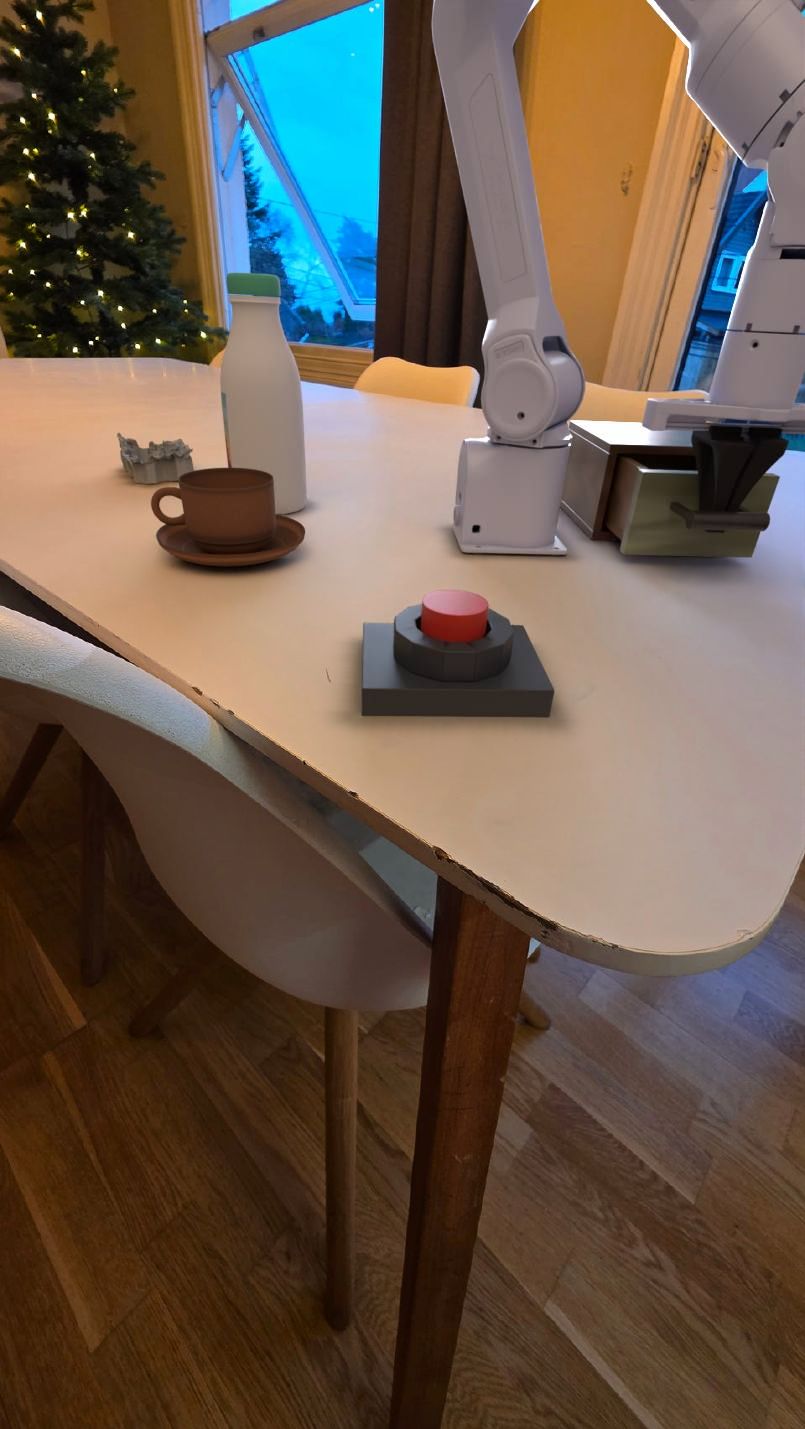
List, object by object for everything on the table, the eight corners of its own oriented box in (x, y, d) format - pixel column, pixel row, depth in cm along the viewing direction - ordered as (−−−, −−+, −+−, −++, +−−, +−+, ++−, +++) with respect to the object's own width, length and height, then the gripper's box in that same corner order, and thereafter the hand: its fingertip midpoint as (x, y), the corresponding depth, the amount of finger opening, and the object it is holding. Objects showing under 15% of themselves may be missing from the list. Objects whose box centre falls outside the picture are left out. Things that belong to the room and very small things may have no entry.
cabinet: (718, 542, 61) (748, 448, 56) (591, 539, 60) (610, 443, 55) (663, 505, 72) (684, 424, 67) (555, 502, 71) (569, 420, 67)
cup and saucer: (168, 587, 46) (153, 501, 43) (153, 538, 55) (140, 465, 52) (324, 569, 51) (321, 491, 47) (286, 527, 60) (281, 459, 56)
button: (422, 645, 33) (424, 614, 32) (418, 617, 36) (420, 588, 35) (490, 646, 33) (494, 616, 32) (480, 618, 36) (483, 589, 35)
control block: (361, 716, 33) (361, 657, 31) (363, 646, 39) (363, 594, 37) (549, 718, 33) (561, 660, 31) (519, 649, 40) (527, 597, 38)
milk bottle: (322, 505, 67) (315, 277, 56) (272, 521, 61) (254, 271, 50) (268, 493, 70) (251, 275, 59) (216, 507, 64) (187, 270, 54)
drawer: (782, 578, 50) (816, 491, 47) (645, 575, 50) (668, 487, 46) (690, 517, 65) (710, 447, 61) (582, 514, 64) (596, 443, 60)
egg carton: (120, 467, 78) (113, 432, 76) (182, 464, 81) (177, 429, 79) (131, 486, 70) (124, 447, 68) (200, 482, 73) (194, 444, 71)
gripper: (694, 330, 39) (641, 542, 47) (912, 340, 40) (826, 546, 48) (652, 327, 45) (610, 516, 53) (842, 335, 46) (776, 520, 54)
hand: (710, 529), depth 51 cm, fingers closed, pressing on drawer
